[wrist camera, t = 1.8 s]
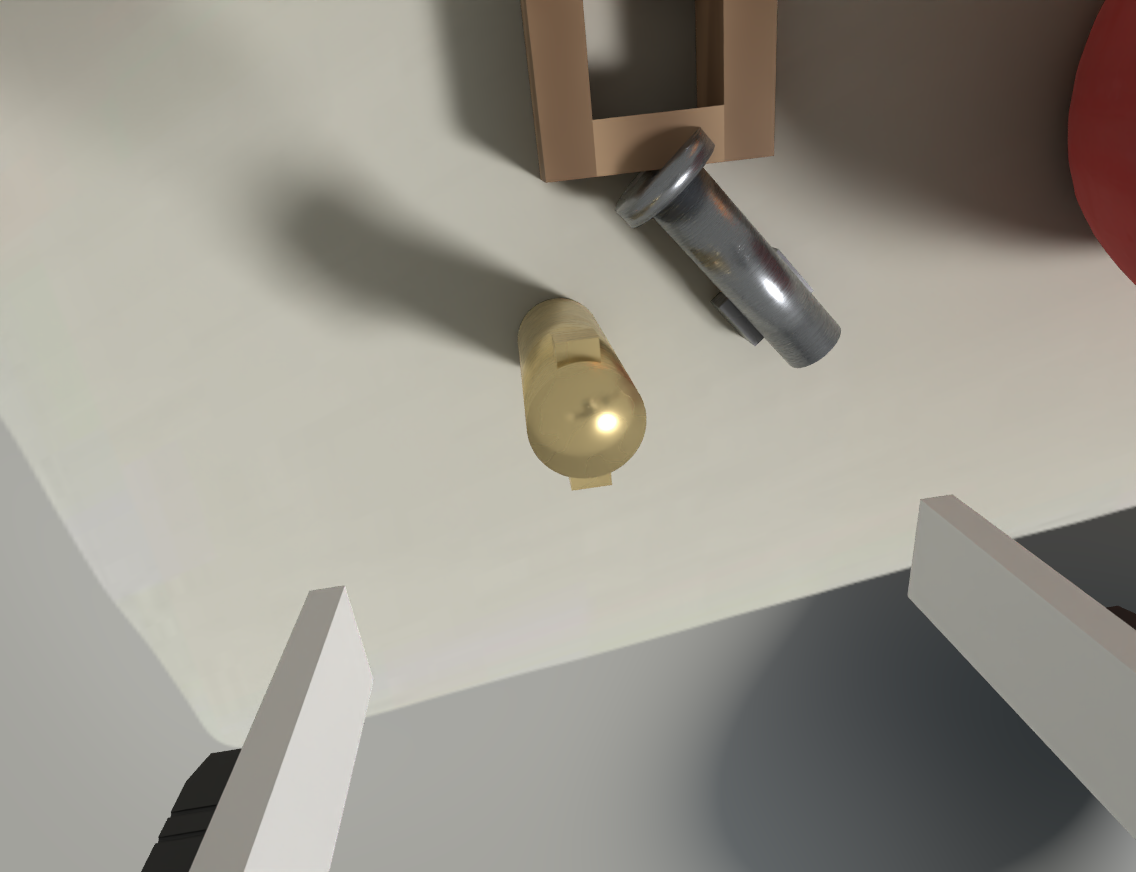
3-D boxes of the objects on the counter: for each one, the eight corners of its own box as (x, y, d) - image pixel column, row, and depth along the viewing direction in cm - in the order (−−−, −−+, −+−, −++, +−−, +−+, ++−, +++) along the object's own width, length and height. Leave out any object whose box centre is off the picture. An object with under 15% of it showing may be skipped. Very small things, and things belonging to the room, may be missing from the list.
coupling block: (743, -98, 28) (780, -136, 24) (742, 155, 32) (773, 155, 28) (511, -75, 27) (513, -111, 23) (540, 179, 31) (546, 182, 28)
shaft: (606, 206, 32) (626, 216, 27) (679, 126, 31) (714, 121, 26) (755, 362, 36) (796, 396, 31) (824, 297, 35) (879, 321, 30)
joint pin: (594, 277, 33) (641, 337, 22) (604, 386, 36) (650, 488, 25) (510, 288, 33) (515, 353, 22) (525, 396, 36) (537, 504, 25)
